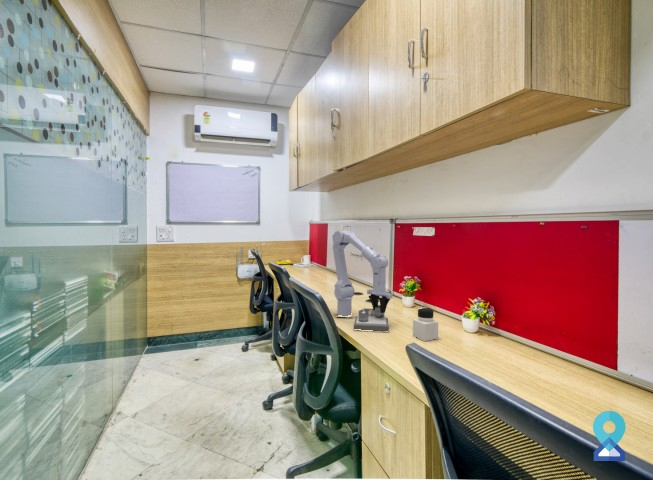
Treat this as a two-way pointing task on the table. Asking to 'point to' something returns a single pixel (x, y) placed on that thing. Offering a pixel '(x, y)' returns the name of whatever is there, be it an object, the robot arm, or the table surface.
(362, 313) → the weight
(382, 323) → the scale
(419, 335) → the medicine bottle
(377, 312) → the cylinder
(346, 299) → the robot arm
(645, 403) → the table surface
